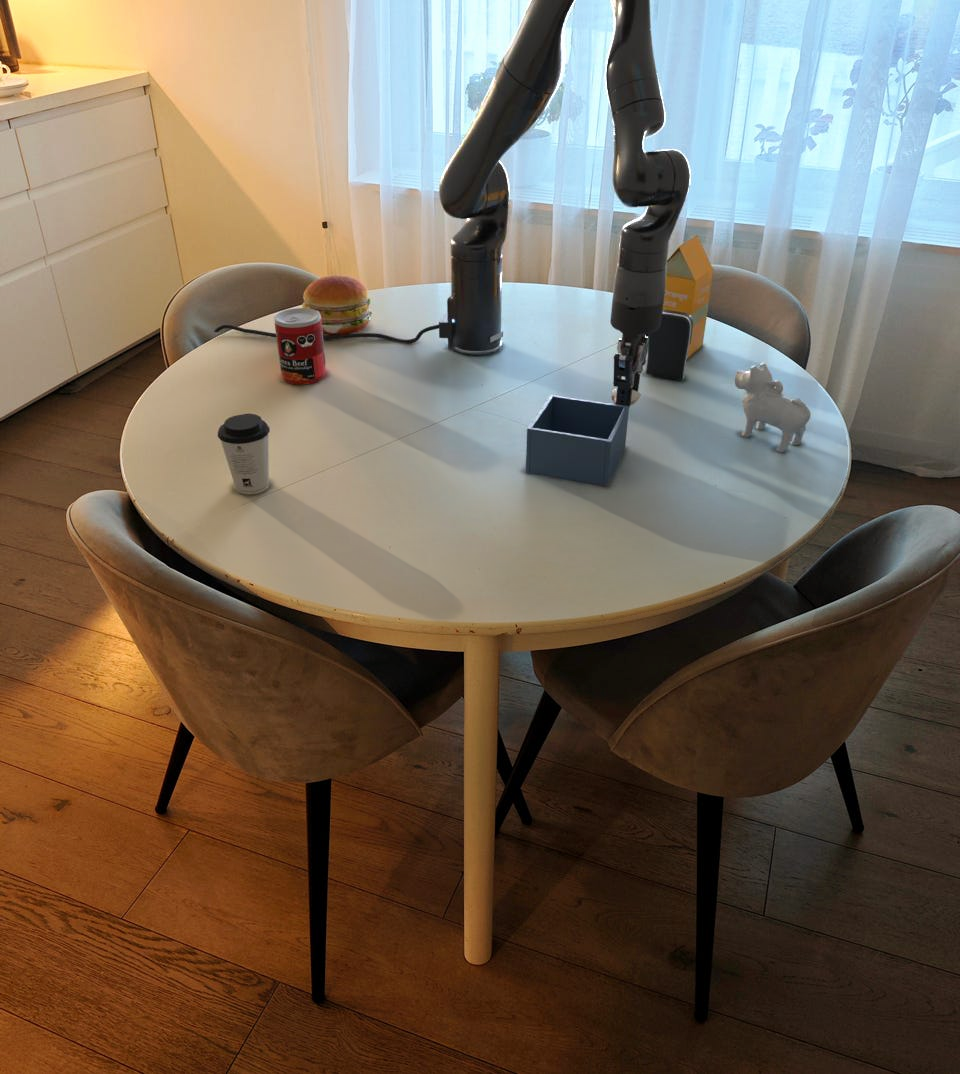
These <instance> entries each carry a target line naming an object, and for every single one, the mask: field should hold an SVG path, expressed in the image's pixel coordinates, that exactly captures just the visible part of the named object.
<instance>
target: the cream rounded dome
mask: <svg viewBox="0 0 960 1074" xmlns="http://www.w3.org/2000/svg"><path fill="white" fill-rule="evenodd" d="M616 396H617V388H614V389H613V390H612V392H611V400H612V401H613V404H616ZM641 396H642V393H641V392H640V391H638V392H637V391H635V390H632V396H631V405H630V407H631V406H632V405H634V404H636V403H637V402H638V401H639V399H640V398H641Z"/></svg>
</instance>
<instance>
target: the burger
mask: <svg viewBox="0 0 960 1074" xmlns="http://www.w3.org/2000/svg"><path fill="white" fill-rule="evenodd" d="M369 293H370V292H369V290H368V288H367V287H366V285H364V284H363V283H362V282H361V281H359V280H357V279H356V278H354V277H351V276H347V275H339V274H338V275H334V274H333V275H327V276H323V277H321V278H318V279H315V280H314V281H312V282H311V283H310V284H309V285H307V287H306V288H305V290H304V292H303V295H302V296H303V298H302V299H303V302H302V304H301V306H302V308H307V309H313V310H316V311H318V312H319V313H320V316H321V322H322V331H323V335H341V334H355V333H359V332H360V331H363V330H364V329H365V328H367V326H368V324H369V323H370V322H371V317H372V314H373V313H372V311H371V310H370V305H371V298H370V294H369Z"/></svg>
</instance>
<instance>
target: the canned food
mask: <svg viewBox="0 0 960 1074" xmlns="http://www.w3.org/2000/svg"><path fill="white" fill-rule="evenodd" d="M273 319H274V320H273V321H274V330H275V333H276V337H275V339H276V345H277V353H278V357H279V358H278V359H279V366H280V374H281V377H282V379H283V381H285V382H286V383H288V384H291V385H297V386H298V385H301V386H302V385H309V384H310V385H311V384H315V383H318V382H320V381H322V380H323V379H324V378H325V376H326V374H327V364H326V353H325V343H324V342H325V341H324V339H323V335H324V334H323V331H322V322H321V316H320V313H319V312H318V311H316V310H313V309H307V308H303V307H297V308H290V309H286V310H283V311H280V312H278V313H277V314H275V316H274V318H273Z"/></svg>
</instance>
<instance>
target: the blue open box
mask: <svg viewBox="0 0 960 1074" xmlns="http://www.w3.org/2000/svg"><path fill="white" fill-rule="evenodd" d="M629 412H630V407H629V406H623V405H617V404H615V403H609V402H602V401H596V400H589V399H582V398H574V397H569V396H560V395H555V394H550V395H549V396H548V398H547V399H546V400H545V402H544V404H543V405H542V406H541V408H540V409H539V411H538V412H537V414H536V415H535V417H534V418H533V419H532V421H531V422H530V424H529V425H528V426H527V428H526V446H525V447H526V451H525V473H529V474H535V475H541V476H547V477H551V478H559V479H563V480H569V481H575V482H581V483H587V484H592V485H599V486H603V487H608V485H609V483H610V481H611V479H612V477H613V475H614V472H615V471H616V468H617V467H618V465H619V462H620V460H621V458H622V456H623V454H624V452H625V450H626V442H627V432H628V423H629Z"/></svg>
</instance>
